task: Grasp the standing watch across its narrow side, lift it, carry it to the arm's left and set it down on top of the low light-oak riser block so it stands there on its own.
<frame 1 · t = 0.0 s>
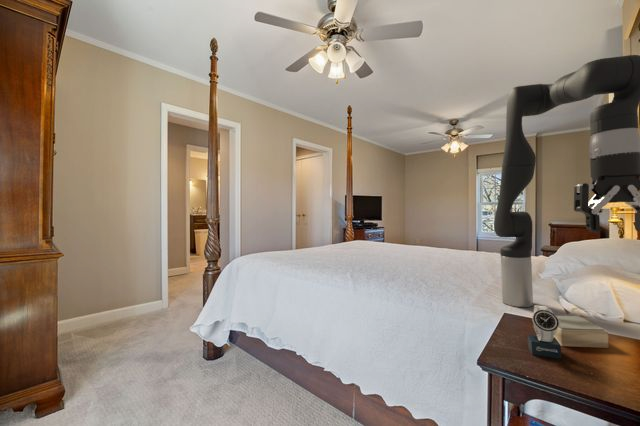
hand: (617, 231, 60), 29 cm above the nightstand, fingers open, 8 cm apart
oak riser: (571, 338, 76), on the nightstand
watch: (544, 353, 69), on the nightstand
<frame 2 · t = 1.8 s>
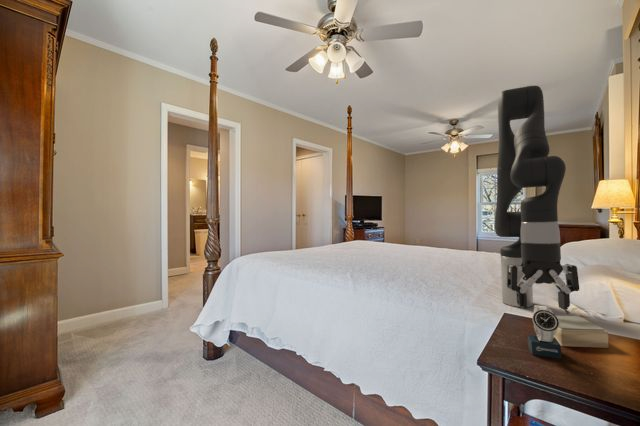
hand: (542, 308, 69), 11 cm above the nightstand, fingers open, 8 cm apart
nothing on the nightstand moved.
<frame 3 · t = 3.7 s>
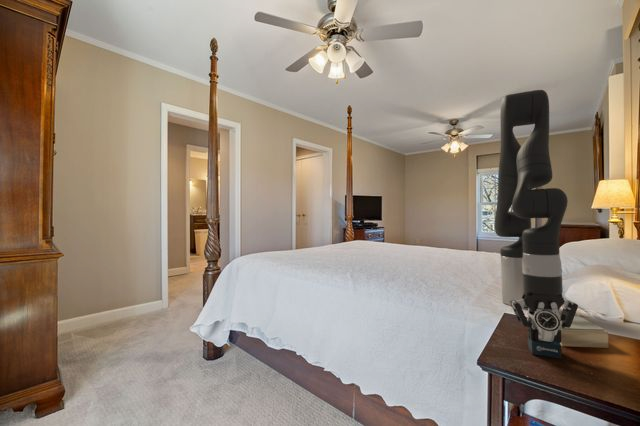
hand: (544, 343, 69), 2 cm above the nightstand, fingers closed on watch, 3 cm apart
watch: (544, 353, 69), on the nightstand, touching gripper
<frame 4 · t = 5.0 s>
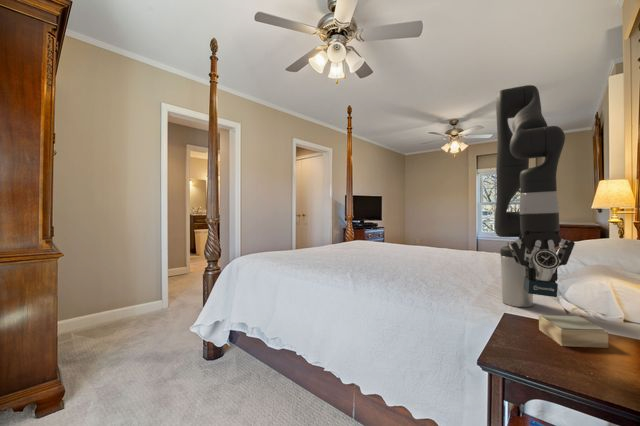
hand: (541, 282, 70), 17 cm above the nightstand, fingers closed on watch, 3 cm apart
watch: (539, 293, 70), point 14 cm above the nightstand, touching gripper
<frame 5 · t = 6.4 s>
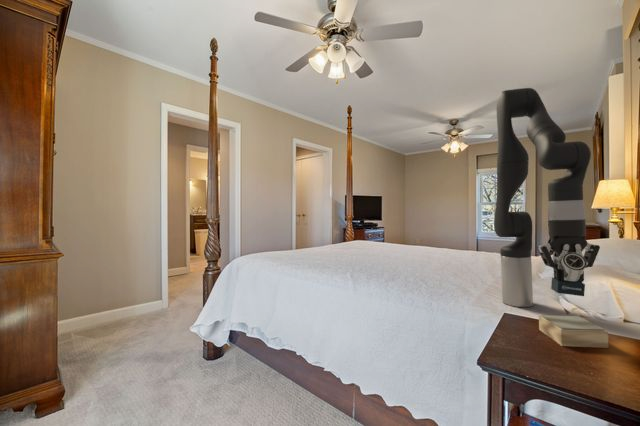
hand: (568, 282, 76), 15 cm above the nightstand, fingers closed on watch, 3 cm apart
watch: (567, 293, 76), point 12 cm above the nightstand, touching gripper
when the fingers open (8 cm above the nightstand, at t = 8.3 s): watch stays where it is, resting on oak riser.
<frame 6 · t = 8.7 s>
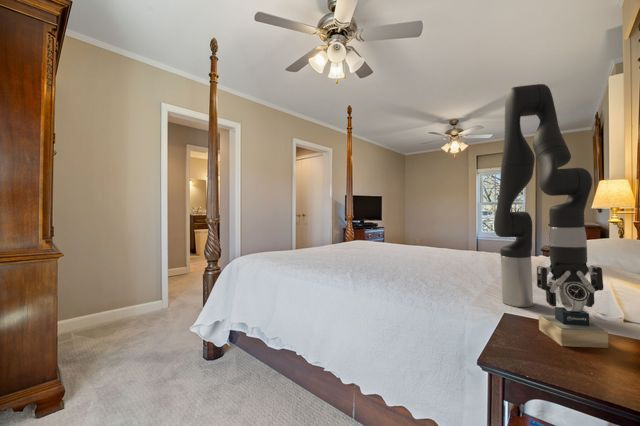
hand: (569, 305, 76), 9 cm above the nightstand, fingers open, 8 cm apart
watch: (572, 322, 76), point 4 cm above the nightstand, touching oak riser
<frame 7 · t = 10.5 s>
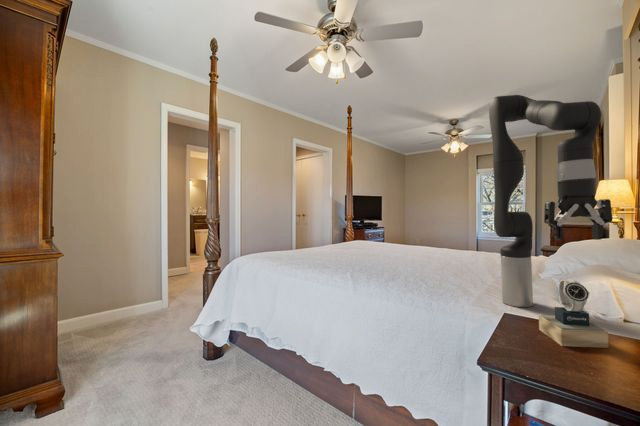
hand: (577, 239, 77), 26 cm above the nightstand, fingers open, 8 cm apart
nothing on the nightstand moved.
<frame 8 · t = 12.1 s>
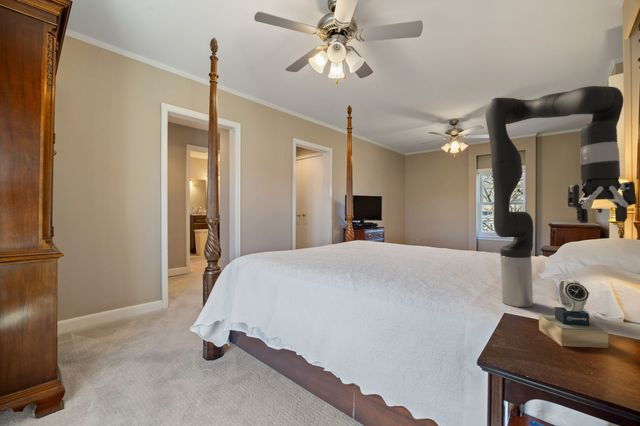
hand: (601, 222, 77), 30 cm above the nightstand, fingers open, 8 cm apart
nothing on the nightstand moved.
at the end: watch touching oak riser; watch tilted 0° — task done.
